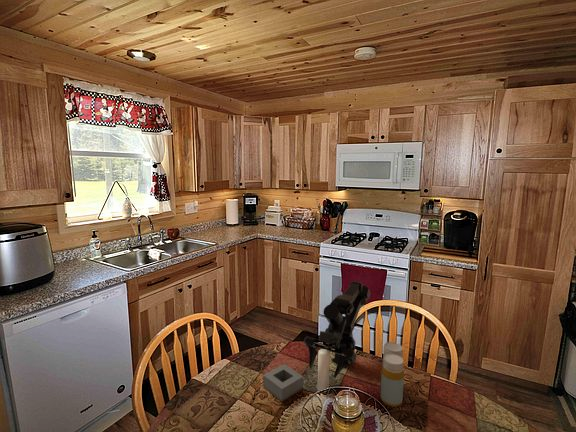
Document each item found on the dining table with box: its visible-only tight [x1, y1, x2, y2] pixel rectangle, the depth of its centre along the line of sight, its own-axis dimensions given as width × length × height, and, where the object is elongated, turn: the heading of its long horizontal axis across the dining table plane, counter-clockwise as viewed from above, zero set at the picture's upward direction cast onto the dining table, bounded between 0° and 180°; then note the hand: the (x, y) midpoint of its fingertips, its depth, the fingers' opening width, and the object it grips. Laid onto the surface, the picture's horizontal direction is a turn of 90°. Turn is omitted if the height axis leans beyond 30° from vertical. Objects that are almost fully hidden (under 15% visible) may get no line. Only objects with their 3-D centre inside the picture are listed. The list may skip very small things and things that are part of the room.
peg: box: [316, 348, 331, 392], centre depth 111 cm, size 4×4×14 cm
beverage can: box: [381, 341, 404, 370], centre depth 114 cm, size 6×7×15 cm
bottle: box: [380, 354, 405, 408], centre depth 106 cm, size 7×7×15 cm
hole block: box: [262, 363, 304, 402], centre depth 112 cm, size 10×10×5 cm
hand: (322, 373), depth 110 cm, fingers open, 9 cm apart
